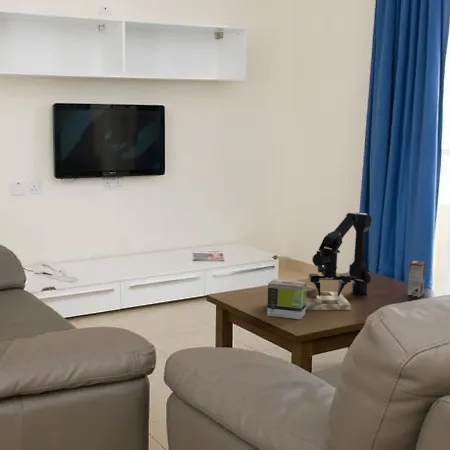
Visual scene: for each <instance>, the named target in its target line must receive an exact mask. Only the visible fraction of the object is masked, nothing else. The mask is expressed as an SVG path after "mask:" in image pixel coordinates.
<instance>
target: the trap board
mask: <svg viewBox="0 0 450 450" xmlns="http://www.w3.org/2000/svg"><path fill="white" fill-rule="evenodd" d="M306 288H313V286H312V285H310V286H309V285H306ZM351 305H352V304H350V302H349V301H348V300H347V298H345V297H344V295H343V294H342V292H341V293H340V295H339V296H338V291H320V296H319V295H318V292H317V299H306V308H305V311H310V310H311V311H313V310H314V311H317V310H318V311H351V308H352V306H351Z"/></svg>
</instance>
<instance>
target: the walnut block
mask: <svg viewBox="0 0 450 450" xmlns="http://www.w3.org/2000/svg"><path fill="white" fill-rule="evenodd" d="M306 299H317V288H316V287H312V288H306Z"/></svg>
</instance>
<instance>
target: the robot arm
mask: <svg viewBox="0 0 450 450" xmlns="http://www.w3.org/2000/svg"><path fill="white" fill-rule="evenodd" d="M372 219H373V218H372V216H371V215H370V214H368V213H364V212H363V213H362V212H355V213H353V212H348V213H346V215H345V217H344V218H343V220H342V221H341V222H340V223H339V224H338V226H337V227H336V228H335V230H333V231H331V232H329V233H327V234H326V235H325V236H324V237H323V239H322V241H321V243H320V246H319V248H318V250H317V251H316V253H315V254H313V256H312V260H311V261H312V263H313V265H314V266H315V267H317V273H309V274H308V281H310V282H311V283H312V284H314V285H315V289H316V290H317V292H318V295H319V296H320V292H321V282H320V281H338V287H337V292H338V296H339V295H340V293H341V294H342V290H343V289H344V287H346V285H348V283H351V293H352V294H353V296H354V295H355V296H368V284H370V282H371V279H372V277H371V275H370V274H369V272H368V265H367V264H366V261H365V259H366V258H365V257H366V245H367V232H368V231H369V229H370V227H371V224H372ZM352 227H353V228H354V230H355V240H354V257H353V262H352V263H350V264H349V270H348V273H349V274H348V273H340V274H339V275H337V270H338V254H340V253H341V251H340V250H339V249H340V247H341V245H342V244H343V238H344V236H346V235H347V233H348V232H349V231H350V229H351V228H352ZM318 273H320V274H321V275H319V274H318Z"/></svg>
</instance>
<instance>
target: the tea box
mask: <svg viewBox="0 0 450 450" xmlns="http://www.w3.org/2000/svg"><path fill="white" fill-rule="evenodd" d="M306 286H307V281H303V280H302V281H301V280H289V279H279V278H273V279H272V280H271V281H270V282H268V284H267V304H266V305H267V307H266V315H267V316H269V317H270V316H271V317H275V318H276V317H277V318H283V319H284V318H285V319H292V320H293V319H294V320H302V318H303V317H304V316H305V315H306V310H305V308H306Z"/></svg>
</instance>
